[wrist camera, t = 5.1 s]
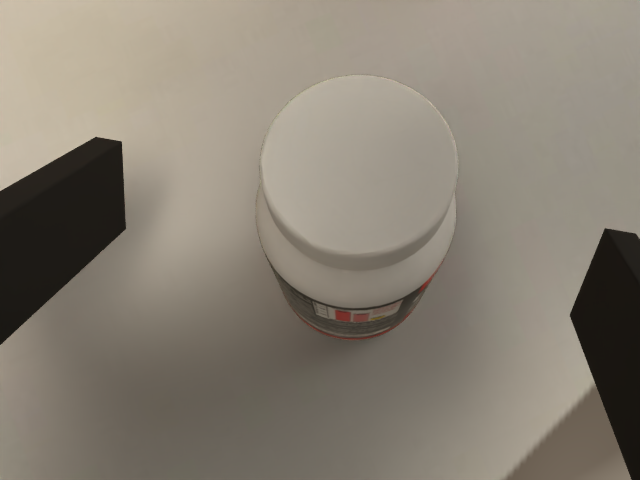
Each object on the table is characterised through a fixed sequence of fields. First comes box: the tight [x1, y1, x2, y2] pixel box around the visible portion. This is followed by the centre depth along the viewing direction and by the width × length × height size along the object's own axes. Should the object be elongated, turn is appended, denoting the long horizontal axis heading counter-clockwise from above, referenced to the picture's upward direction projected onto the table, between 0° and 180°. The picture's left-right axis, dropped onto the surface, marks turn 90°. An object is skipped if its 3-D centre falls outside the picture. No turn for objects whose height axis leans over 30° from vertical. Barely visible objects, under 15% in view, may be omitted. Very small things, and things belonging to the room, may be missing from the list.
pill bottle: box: [256, 75, 459, 340], centre depth 18 cm, size 6×6×10 cm
